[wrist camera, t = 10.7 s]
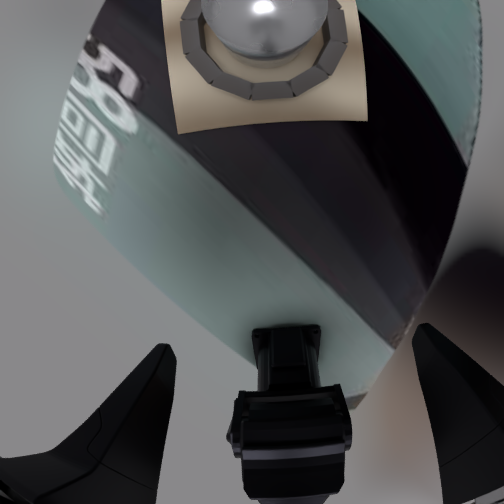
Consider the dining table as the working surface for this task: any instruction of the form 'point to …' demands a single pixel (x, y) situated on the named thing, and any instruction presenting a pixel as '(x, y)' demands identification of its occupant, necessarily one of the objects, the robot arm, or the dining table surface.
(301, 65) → the ring seat
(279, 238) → the dining table surface
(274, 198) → the dining table surface
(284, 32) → the cylinder
